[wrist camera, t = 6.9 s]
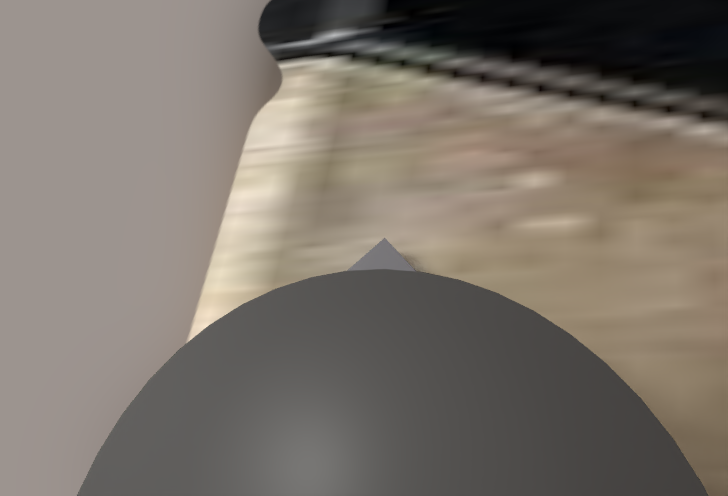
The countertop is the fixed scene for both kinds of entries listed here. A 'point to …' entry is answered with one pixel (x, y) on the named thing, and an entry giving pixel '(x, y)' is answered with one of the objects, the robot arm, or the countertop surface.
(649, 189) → the countertop surface
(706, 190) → the countertop surface
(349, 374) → the peg
